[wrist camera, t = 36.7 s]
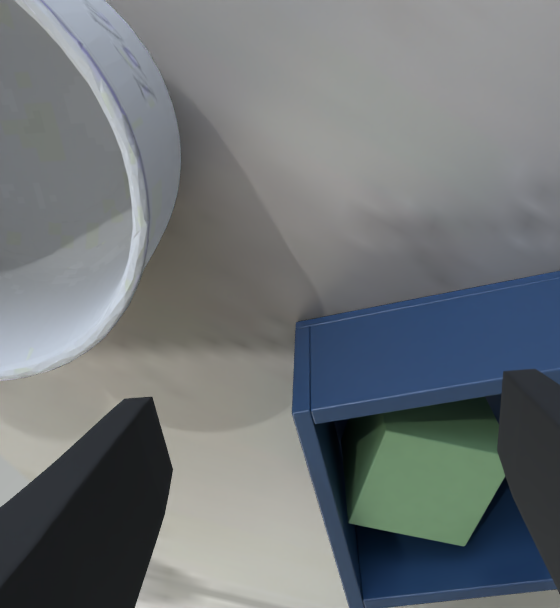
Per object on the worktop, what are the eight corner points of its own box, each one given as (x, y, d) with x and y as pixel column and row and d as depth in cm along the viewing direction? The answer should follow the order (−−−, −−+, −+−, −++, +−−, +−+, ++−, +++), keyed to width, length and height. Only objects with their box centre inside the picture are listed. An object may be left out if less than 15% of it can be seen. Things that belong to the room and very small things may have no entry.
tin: (603, 261, 20) (711, 343, 14) (598, 457, 24) (680, 576, 19) (295, 321, 22) (291, 413, 16) (341, 494, 26) (350, 612, 21)
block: (477, 379, 22) (516, 458, 18) (438, 460, 24) (465, 547, 20) (371, 356, 22) (386, 430, 17) (340, 439, 24) (347, 523, 20)
